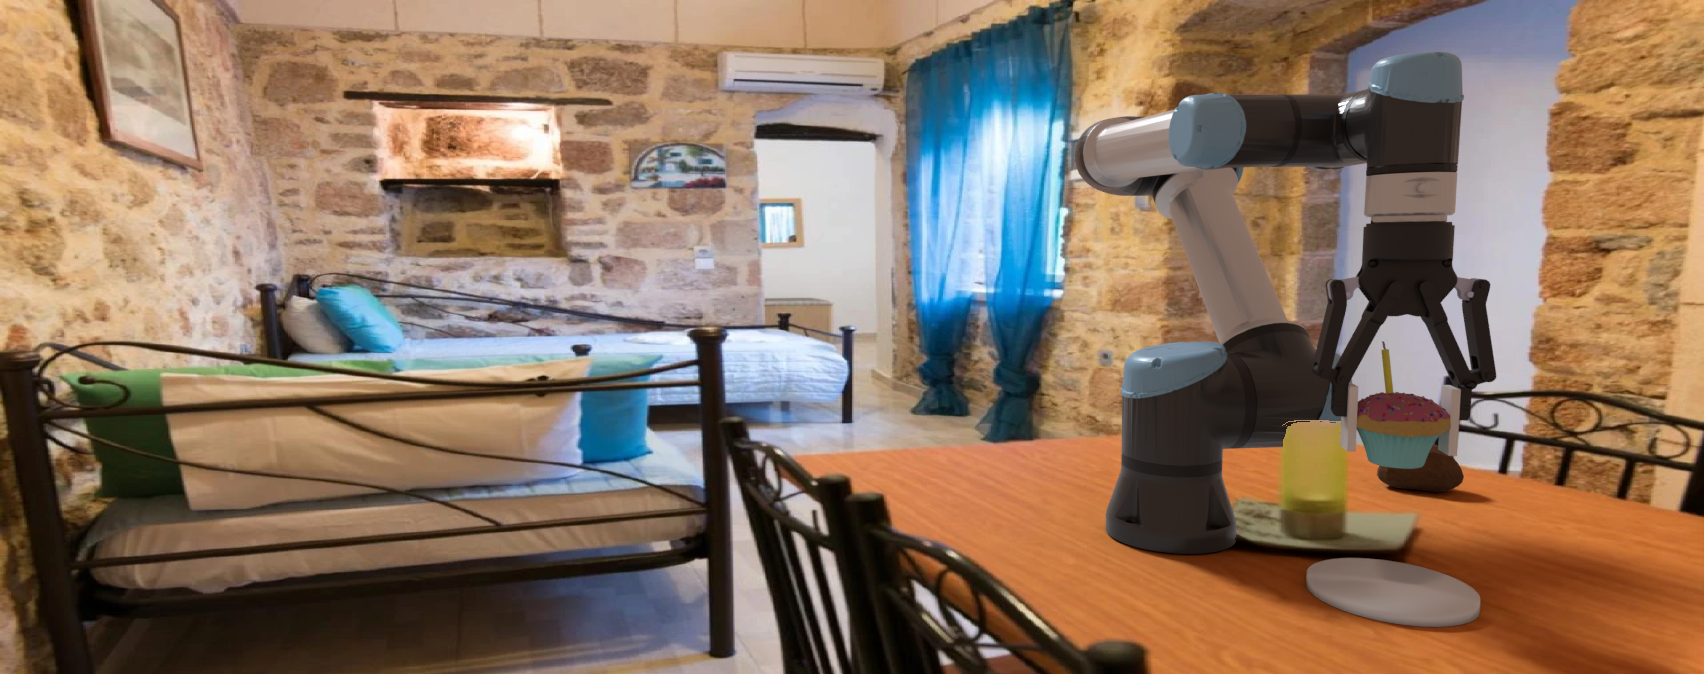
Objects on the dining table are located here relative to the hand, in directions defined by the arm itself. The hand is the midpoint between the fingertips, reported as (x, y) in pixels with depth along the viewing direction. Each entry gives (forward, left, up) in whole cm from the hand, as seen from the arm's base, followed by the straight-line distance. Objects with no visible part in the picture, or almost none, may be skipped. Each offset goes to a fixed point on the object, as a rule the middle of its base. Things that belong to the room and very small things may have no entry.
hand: (1396, 450), depth 89 cm
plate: (0, 0, -15) cm, 15 cm away
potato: (+16, +44, -15) cm, 49 cm away
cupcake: (0, 0, -1) cm, 1 cm away
